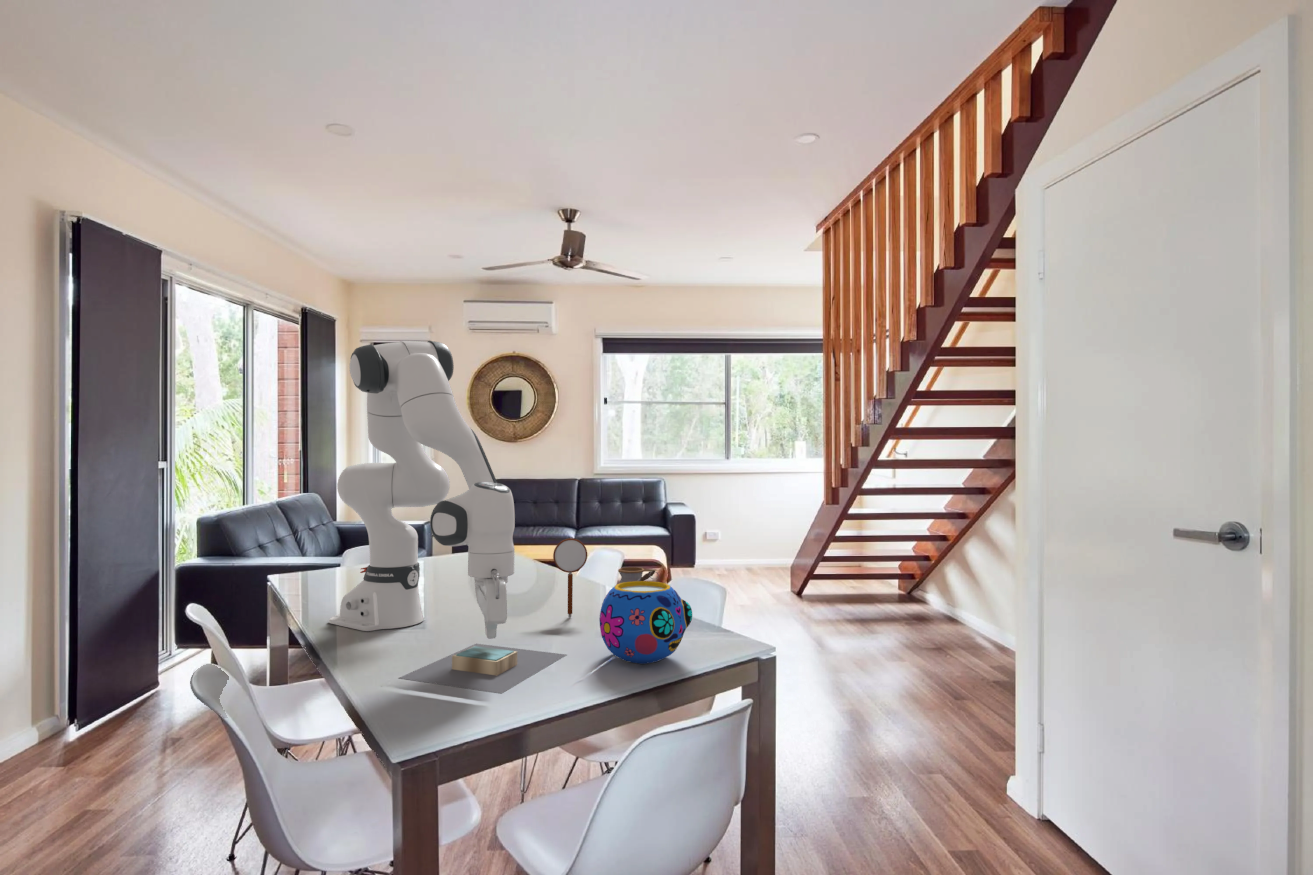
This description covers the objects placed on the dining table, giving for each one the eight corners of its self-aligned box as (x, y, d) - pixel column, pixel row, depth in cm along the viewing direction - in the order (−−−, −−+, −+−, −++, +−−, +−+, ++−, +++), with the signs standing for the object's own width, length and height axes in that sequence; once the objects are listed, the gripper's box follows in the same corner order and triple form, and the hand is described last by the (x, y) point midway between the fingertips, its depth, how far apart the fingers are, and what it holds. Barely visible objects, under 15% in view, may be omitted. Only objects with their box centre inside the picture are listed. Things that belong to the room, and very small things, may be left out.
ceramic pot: (660, 680, 127) (660, 598, 127) (581, 665, 136) (581, 588, 136) (700, 655, 142) (701, 582, 142) (627, 643, 151) (628, 574, 151)
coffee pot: (602, 617, 174) (602, 558, 174) (644, 613, 178) (645, 555, 178) (630, 639, 154) (630, 572, 154) (677, 634, 158) (677, 569, 159)
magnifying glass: (552, 619, 172) (553, 539, 172) (552, 617, 174) (553, 538, 174) (587, 617, 174) (587, 538, 174) (586, 615, 175) (587, 537, 176)
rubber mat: (398, 681, 125) (398, 677, 125) (476, 646, 148) (476, 643, 148) (501, 696, 118) (501, 693, 118) (567, 657, 140) (567, 654, 140)
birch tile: (473, 658, 137) (451, 669, 131) (474, 645, 137) (452, 654, 131) (517, 664, 134) (497, 675, 127) (517, 650, 134) (497, 660, 127)
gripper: (515, 573, 126) (515, 649, 125) (501, 557, 145) (500, 623, 144) (480, 575, 123) (479, 653, 123) (470, 558, 143) (469, 625, 142)
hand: (490, 636), depth 134 cm, fingers closed
